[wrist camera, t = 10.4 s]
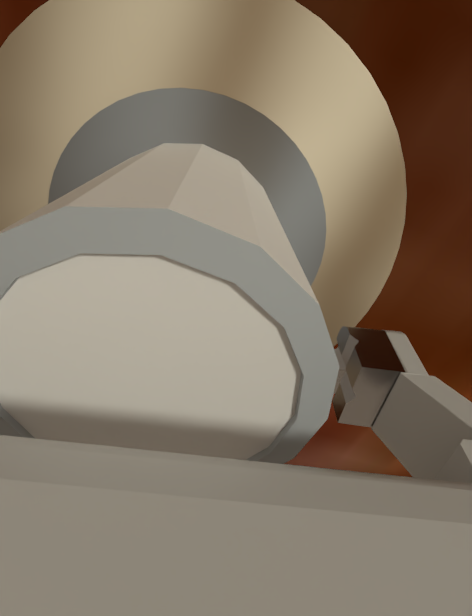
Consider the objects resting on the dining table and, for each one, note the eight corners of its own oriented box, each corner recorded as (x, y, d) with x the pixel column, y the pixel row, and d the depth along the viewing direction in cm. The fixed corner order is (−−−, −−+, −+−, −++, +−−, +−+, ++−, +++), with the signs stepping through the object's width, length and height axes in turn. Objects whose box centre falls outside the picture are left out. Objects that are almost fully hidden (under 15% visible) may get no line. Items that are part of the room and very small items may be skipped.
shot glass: (218, 347, 15) (204, 532, 10) (49, 256, 13) (-102, 425, 7) (339, 208, 12) (429, 361, 6) (141, 59, 10) (3, 83, 4)
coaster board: (472, 26, 11) (499, 24, 10) (327, 388, 18) (332, 409, 17) (-69, -82, 9) (-108, -98, 8) (21, 351, 17) (6, 372, 16)
